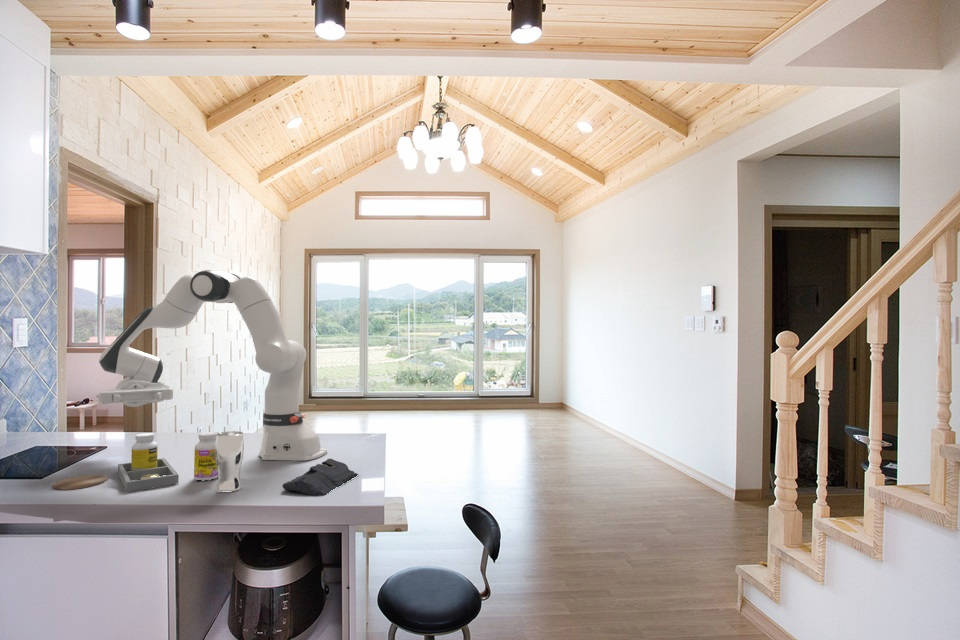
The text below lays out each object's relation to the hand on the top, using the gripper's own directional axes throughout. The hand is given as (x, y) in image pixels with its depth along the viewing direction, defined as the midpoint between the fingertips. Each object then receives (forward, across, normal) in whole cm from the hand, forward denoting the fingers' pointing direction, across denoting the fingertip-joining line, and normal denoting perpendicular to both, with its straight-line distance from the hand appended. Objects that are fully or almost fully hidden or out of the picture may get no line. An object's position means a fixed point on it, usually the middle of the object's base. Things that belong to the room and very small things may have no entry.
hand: (139, 397), depth 164 cm
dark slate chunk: (+52, +38, +21) cm, 68 cm away
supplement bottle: (+28, +14, +21) cm, 38 cm away
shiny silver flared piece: (+43, +16, +21) cm, 50 cm away
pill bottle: (+12, 0, +21) cm, 24 cm away
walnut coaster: (+12, -15, +21) cm, 29 cm away
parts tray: (+18, 0, +21) cm, 27 cm away
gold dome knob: (+23, 0, +21) cm, 31 cm away
